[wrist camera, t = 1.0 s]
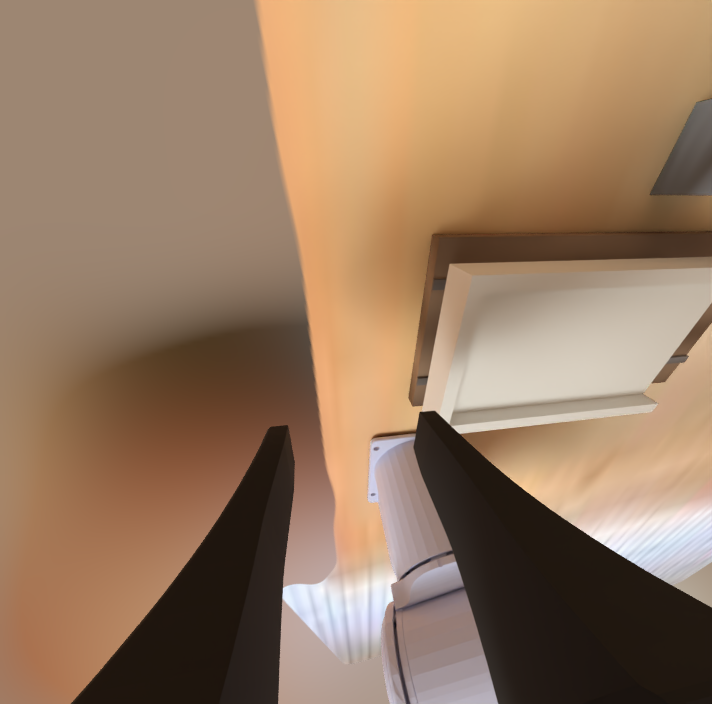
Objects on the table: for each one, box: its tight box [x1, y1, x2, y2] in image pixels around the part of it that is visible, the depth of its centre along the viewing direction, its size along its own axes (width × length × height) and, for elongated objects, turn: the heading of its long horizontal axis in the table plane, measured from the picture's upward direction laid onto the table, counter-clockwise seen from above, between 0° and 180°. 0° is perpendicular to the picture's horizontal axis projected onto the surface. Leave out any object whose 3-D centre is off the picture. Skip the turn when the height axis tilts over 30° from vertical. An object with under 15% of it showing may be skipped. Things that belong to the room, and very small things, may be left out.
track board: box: [409, 231, 712, 406], centre depth 19 cm, size 12×23×1 cm, turn 90°
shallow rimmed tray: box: [422, 257, 712, 434], centre depth 16 cm, size 10×16×3 cm, turn 90°
